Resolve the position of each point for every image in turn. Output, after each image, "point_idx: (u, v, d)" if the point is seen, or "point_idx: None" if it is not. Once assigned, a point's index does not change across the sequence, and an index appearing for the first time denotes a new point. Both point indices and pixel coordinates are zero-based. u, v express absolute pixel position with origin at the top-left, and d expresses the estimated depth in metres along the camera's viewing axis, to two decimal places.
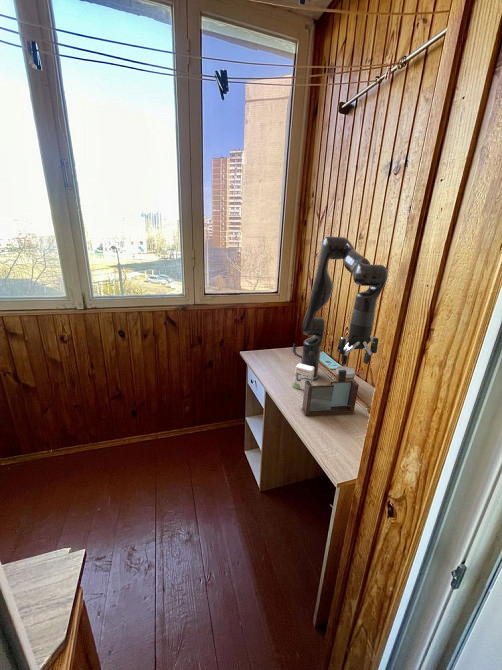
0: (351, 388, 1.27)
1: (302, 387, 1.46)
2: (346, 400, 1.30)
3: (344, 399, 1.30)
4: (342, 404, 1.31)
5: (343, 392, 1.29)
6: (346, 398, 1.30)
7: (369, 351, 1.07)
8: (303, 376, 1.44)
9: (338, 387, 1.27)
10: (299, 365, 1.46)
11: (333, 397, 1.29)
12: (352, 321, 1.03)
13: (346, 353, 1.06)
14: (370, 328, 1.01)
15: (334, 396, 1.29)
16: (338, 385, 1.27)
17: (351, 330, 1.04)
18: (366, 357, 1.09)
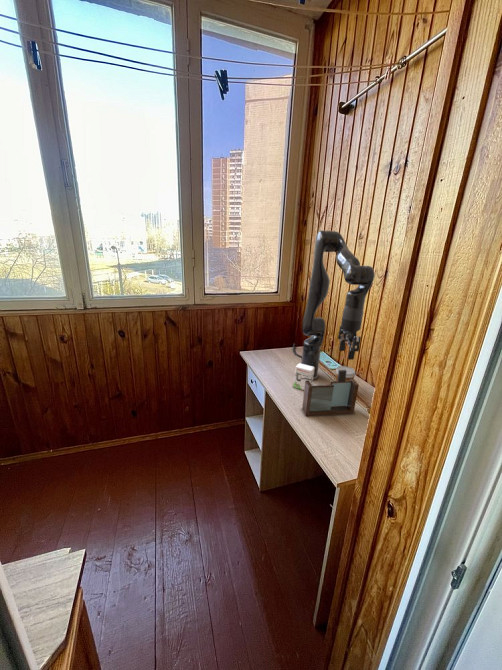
0: (351, 388, 1.27)
1: (302, 387, 1.46)
2: (346, 400, 1.30)
3: (344, 399, 1.30)
4: (342, 404, 1.31)
5: (343, 392, 1.29)
6: (346, 398, 1.30)
7: (349, 347, 1.15)
8: (303, 376, 1.44)
9: (338, 387, 1.27)
10: (299, 365, 1.46)
11: (333, 397, 1.29)
12: None
13: (340, 340, 1.23)
14: (345, 321, 1.14)
15: (334, 396, 1.29)
16: (338, 385, 1.27)
17: None
18: None
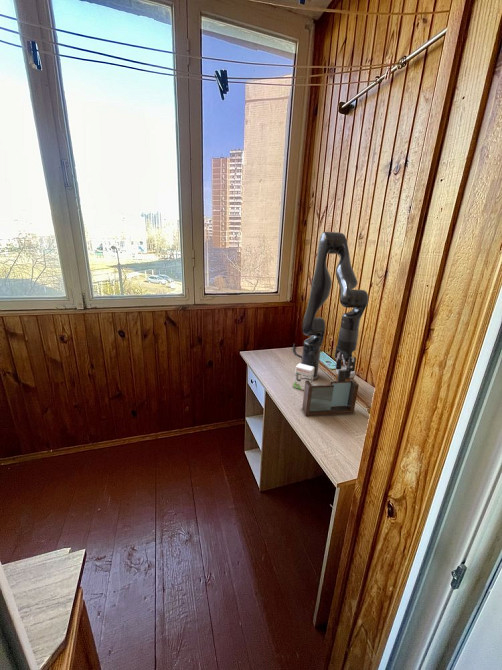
0: (351, 388, 1.27)
1: (302, 387, 1.46)
2: (346, 400, 1.30)
3: (344, 399, 1.30)
4: (342, 404, 1.31)
5: (343, 392, 1.29)
6: (346, 398, 1.30)
7: (345, 366, 1.20)
8: (303, 376, 1.44)
9: (338, 387, 1.27)
10: (299, 365, 1.46)
11: (333, 397, 1.29)
12: None
13: (336, 359, 1.28)
14: (341, 342, 1.19)
15: (334, 396, 1.29)
16: (338, 385, 1.27)
17: None
18: None
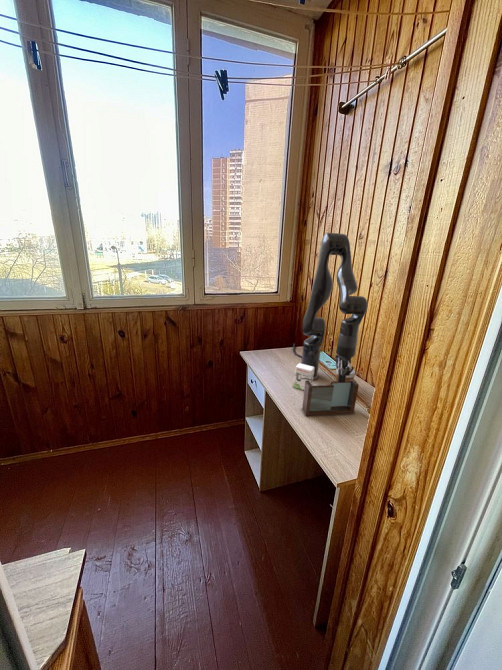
0: (351, 388, 1.27)
1: (302, 387, 1.46)
2: (346, 400, 1.30)
3: (344, 399, 1.30)
4: (342, 404, 1.31)
5: (343, 392, 1.29)
6: (346, 398, 1.30)
7: None
8: (303, 376, 1.44)
9: (338, 387, 1.27)
10: (299, 365, 1.46)
11: (333, 397, 1.29)
12: None
13: (338, 370, 1.26)
14: (340, 348, 1.19)
15: (334, 396, 1.29)
16: (338, 385, 1.27)
17: None
18: None
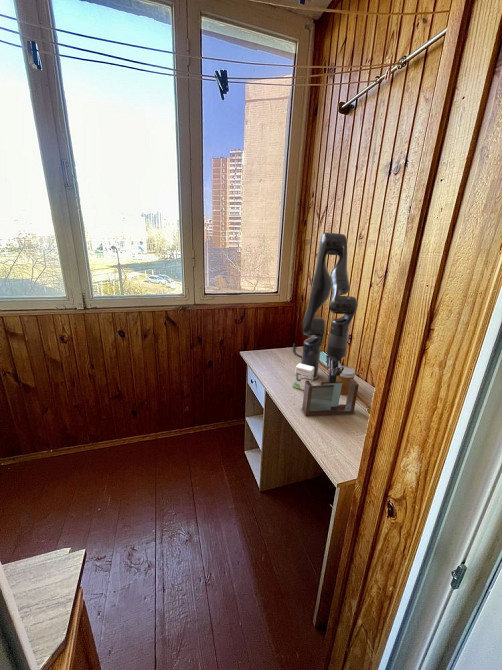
0: (351, 388, 1.27)
1: (302, 387, 1.46)
2: (338, 401, 1.30)
3: (335, 399, 1.30)
4: (333, 404, 1.30)
5: (334, 392, 1.28)
6: (337, 398, 1.29)
7: None
8: (303, 376, 1.44)
9: None
10: (299, 365, 1.46)
11: None
12: None
13: None
14: (330, 348, 1.19)
15: None
16: None
17: None
18: None
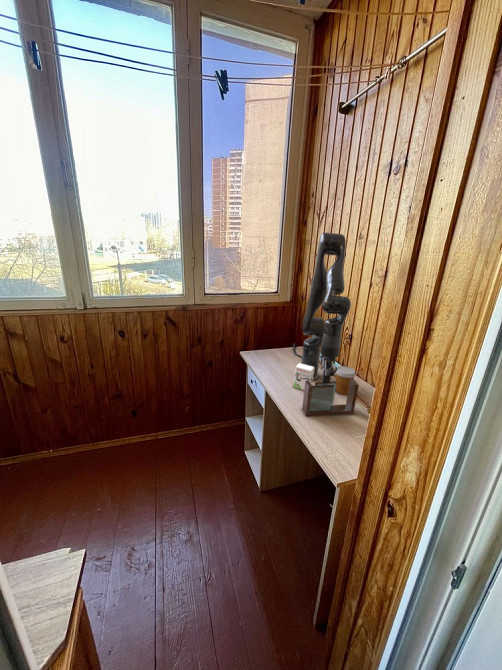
0: (351, 388, 1.27)
1: (302, 387, 1.46)
2: (332, 401, 1.30)
3: None
4: None
5: None
6: None
7: (325, 371, 1.23)
8: (303, 376, 1.44)
9: None
10: (299, 365, 1.46)
11: None
12: None
13: (323, 370, 1.25)
14: (324, 348, 1.18)
15: None
16: None
17: None
18: None
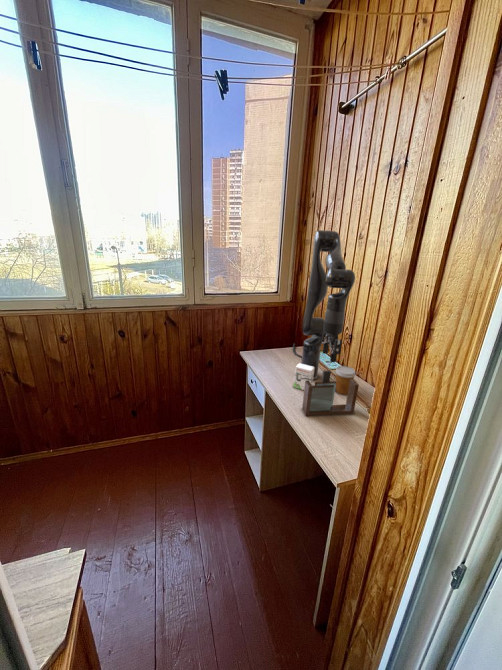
0: (351, 388, 1.27)
1: (302, 387, 1.46)
2: None
3: None
4: None
5: None
6: None
7: (331, 349, 1.16)
8: (303, 376, 1.44)
9: None
10: (299, 365, 1.46)
11: None
12: None
13: (323, 342, 1.24)
14: (327, 324, 1.15)
15: None
16: None
17: None
18: None
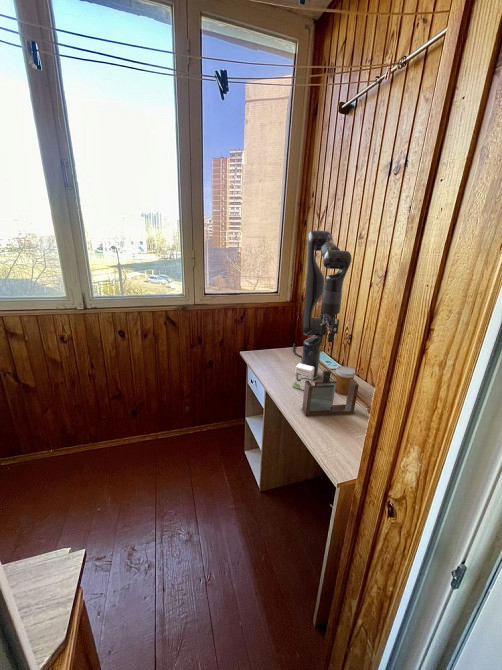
0: (351, 388, 1.27)
1: (302, 387, 1.46)
2: None
3: None
4: None
5: None
6: None
7: (329, 329, 1.19)
8: (303, 376, 1.44)
9: None
10: (299, 365, 1.46)
11: None
12: None
13: (321, 324, 1.28)
14: (324, 305, 1.18)
15: None
16: None
17: None
18: None
